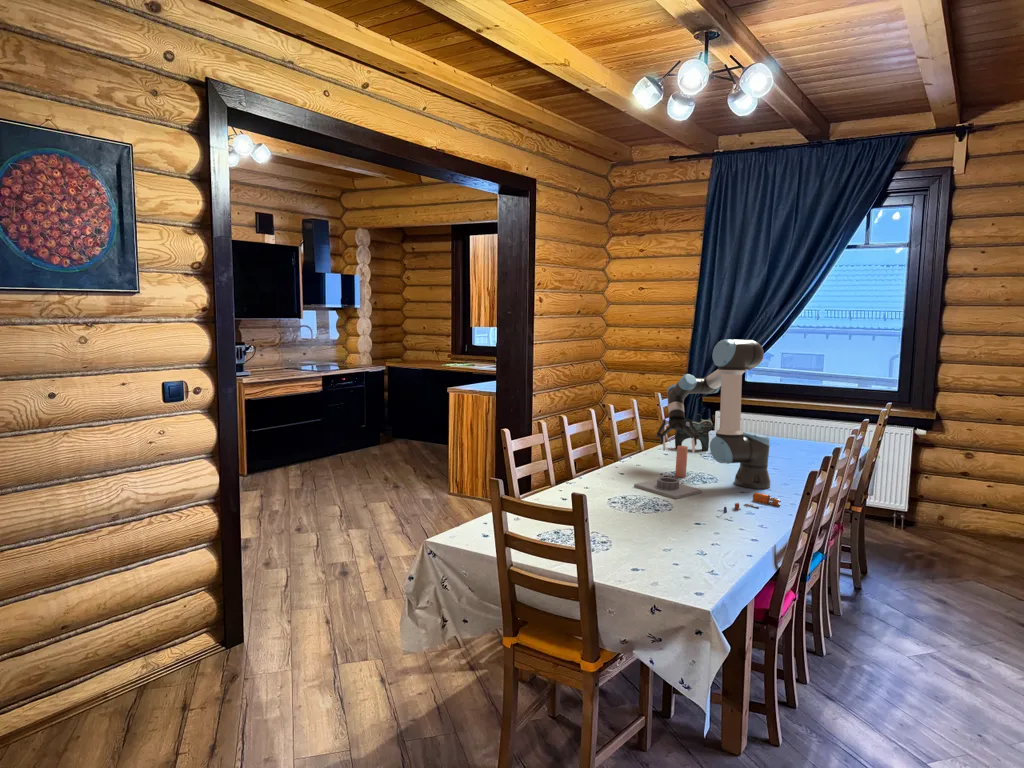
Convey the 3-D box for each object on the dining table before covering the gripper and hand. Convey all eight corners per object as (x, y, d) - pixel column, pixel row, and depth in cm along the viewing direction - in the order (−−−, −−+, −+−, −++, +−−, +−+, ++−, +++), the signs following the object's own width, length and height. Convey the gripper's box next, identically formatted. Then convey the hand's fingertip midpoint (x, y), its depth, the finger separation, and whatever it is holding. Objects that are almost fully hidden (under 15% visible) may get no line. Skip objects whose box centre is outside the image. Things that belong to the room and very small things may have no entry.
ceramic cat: (710, 449, 375) (712, 414, 372) (711, 452, 368) (714, 416, 366) (673, 447, 378) (676, 411, 376) (674, 449, 372) (676, 413, 369)
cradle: (702, 492, 286) (702, 482, 286) (676, 499, 275) (676, 489, 274) (660, 480, 303) (660, 471, 302) (634, 486, 291) (634, 477, 291)
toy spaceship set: (781, 507, 271) (781, 497, 270) (740, 525, 246) (741, 514, 245) (754, 501, 278) (755, 491, 278) (713, 518, 253) (714, 507, 253)
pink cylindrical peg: (687, 476, 312) (689, 447, 310) (681, 478, 309) (683, 448, 307) (679, 474, 316) (681, 445, 314) (673, 475, 313) (675, 446, 311)
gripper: (701, 418, 331) (704, 455, 318) (649, 416, 333) (651, 452, 320) (703, 409, 325) (707, 447, 312) (651, 407, 328) (653, 444, 315)
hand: (679, 450), depth 316 cm, fingers open, 13 cm apart
